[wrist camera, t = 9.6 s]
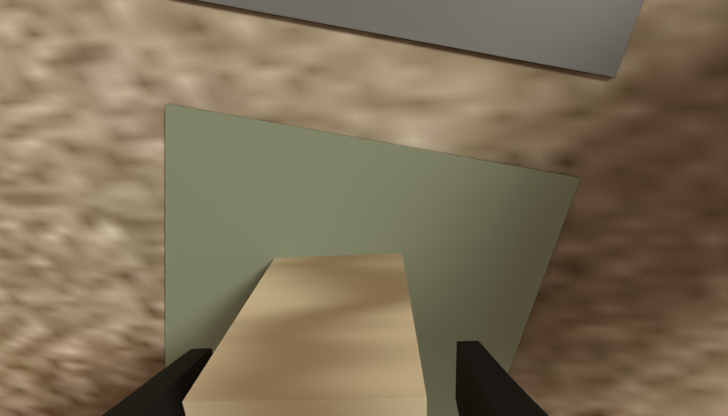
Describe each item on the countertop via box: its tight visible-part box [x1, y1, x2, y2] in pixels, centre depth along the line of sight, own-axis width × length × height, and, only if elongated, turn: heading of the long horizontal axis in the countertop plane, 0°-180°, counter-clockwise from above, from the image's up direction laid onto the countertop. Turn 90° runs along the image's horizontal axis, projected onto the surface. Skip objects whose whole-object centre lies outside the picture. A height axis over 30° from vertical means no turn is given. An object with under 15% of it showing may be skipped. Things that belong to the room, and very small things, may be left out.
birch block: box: [182, 253, 427, 416], centre depth 10 cm, size 4×4×6 cm
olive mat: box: [165, 104, 580, 416], centre depth 13 cm, size 13×13×1 cm
